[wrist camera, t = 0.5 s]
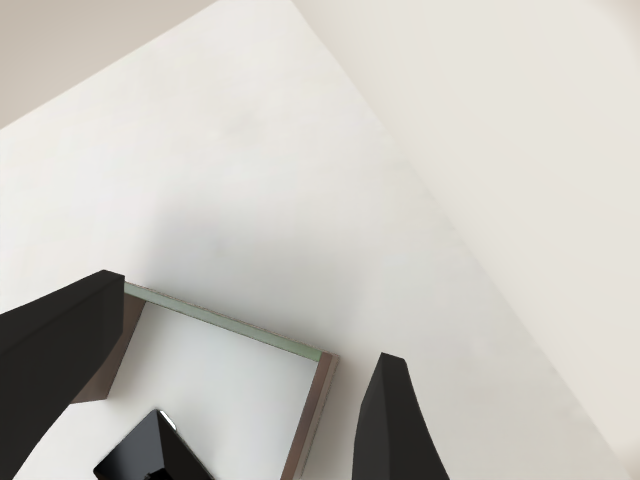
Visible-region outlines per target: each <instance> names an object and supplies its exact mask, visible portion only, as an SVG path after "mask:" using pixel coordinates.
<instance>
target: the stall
mask: <svg viewBox="0 0 640 480" xmlns="http://www.w3.org/2000/svg"><path fill="white" fill-rule="evenodd" d="M146 301H148V302H151V303H154V304H157V305H160V306H163V307H165V308H168V309H171V310H174V311H177V312H179V313H182V314H185V315H188V316H191V317H193V318H196V319H199V320H202V321H205V322H207V323H210V324H213V325H216V326H219V327H222V328H224V329H227V330H230V331H233V332H236V333H238V334H241V335H244V336H247V337H250V338H252V339H255V340H258V341H261V342H264V343H266V344H269V345H272V346H275V347H278V348H280V349H283V350H286V351H289V352H292V353H295V354H297V355H300V356H303V357H306V358H309V359H311V360H314V361H317V362H319V364H318V367H317V370H316V373H315V376H314V379H313V382H312V385H311V388H310V391H309V394H308V397H307V400H306V403H305V406H304V409H303V412H302V415H301V418H300V421H299V424H298V427H297V430H296V433H295V436H294V439H293V442H292V445H291V448H290V451H289V454H288V457H287V461H286V464H285V467H284V470H283V473H282V476H281V479H280V480H300V478H301V476H302V473H303V469H304V466H305V463H306V460H307V457H308V454H309V451H310V448H311V445H312V442H313V438H314V435H315V432H316V429H317V426H318V423H319V420H320V417H321V414H322V411H323V407H324V404H325V401H326V398H327V395H328V392H329V389H330V386H331V383H332V380H333V376H334V373H335V370H336V367H337V364H338V361H339V358H340V356H339V355H336V354H333V353H330V352H328V351H325V350H322V349H319V348H316V347H313V346H310V345H308V344H305V343H302V342H299V341H296V340H293V339H290V338H288V337H285V336H282V335H279V334H276V333H273V332H271V331H268V330H265V329H262V328H259V327H256V326H253V325H251V324H248V323H245V322H242V321H239V320H236V319H233V318H231V317H228V316H225V315H222V314H219V313H216V312H213V311H211V310H208V309H205V308H202V307H199V306H196V305H193V304H191V303H188V302H185V301H182V300H179V299H176V298H173V297H171V296H168V295H165V294H162V293H159V292H156V291H153V290H151V289H148V288H145V287H142V286H139V285H135V284H132V283H129V282H126V281H125V283H124V319H123V333H122V335H121V337H120V338H119V340H118V342H117V343H116V345H115V346H114V348H113V350H112V351H111V353H110V354H109V356H108V357H107V359H106V360H105V362H104V363H103V365H102V366H101V367H100V368H99V370H98V371H97V372H96V373H95V374H94V376H93V377H92V378H91V379H90V380H89V382H88V383H87V384H86V385H85V387H84V388H83V389H82V390H81V391H80V392H79V394H78V395H77V396H76V397H75V398H74V400H73V401H72V402H71V403H70V404H74V403H82V402H89V401H96V400H104V399H106V398H107V395H108V393H109V390H110V388H111V385H112V383H113V380H114V378H115V376H116V373H117V371H118V368H119V366H120V363H121V361H122V358H123V356H124V354H125V351H126V349H127V346H128V344H129V341H130V339H131V336H132V334H133V332H134V329H135V327H136V324H137V322H138V319H139V317H140V314H141V312H142V310H143V307H144V305H145V302H146Z"/></svg>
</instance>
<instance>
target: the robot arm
mask: <svg viewBox="0 0 640 480" xmlns="http://www.w3.org/2000/svg"><path fill="white" fill-rule="evenodd" d="M124 283H125V276H124V275H121V274H117V273H114V272H111V271H107V270H101V271H99V272H96V273H94V274H92V275H90V276H87V277H85V278H83V279H81V280H79V281H76V282H74V283H72V284H70V285H68V286H66V287H63V288H61V289H59V290H57V291H55V292H52V293H50V294H48V295H46V296H43V297H41V298H39V299H37V300H34V301H32V302H30V303H28V304H25V305H23V306H20V307H18V308H15V309H13V310H10V311H8V312H5V313H3V314H0V480H12V479H13V478H14V476H15V475H16V474H17V472H18V471H19V469H20V468H21V466H22V465H23V463H24V462H25V461H26V459H27V458H28V456H29V455H30V453H31V452H32V450H33V449H34V447H35V446H36V445H37V443H38V442H39V441H40V439H41V438H42V437H43V436H44V434H45V433H46V432H47V430H48V429H49V428H50V427H51V426H52V424H53V423H54V422H55V421H56V420H57V419H58V417H59V416H60V415H61V414H62V413H63V411H64V410H65V409H66V408H67V407H68V405H69V404H70V403H71V402H72V401H73V400H74V398H75V397H76V396H77V395H78V394H79V392H80V391H81V390H82V389H83V388H84V387H85V385H86V384H87V383H88V382H89V380H90V379H91V378H92V377H93V376H94V374H95V373H96V372H97V371H98V370H99V368H100V367H101V366H102V365H103V363H104V362H105V360H106V359H107V357H108V356H109V354H110V353H111V351H112V350H113V348H114V346H115V345H116V343H117V342H118V340H119V338H120V337H121V335H122V333H123V319H124ZM352 480H450V479H449V477H448V475H447V473H446V470H445V468H444V466H443V464H442V462H441V460H440V457H439V455H438V453H437V451H436V448H435V446H434V444H433V441H432V439H431V437H430V434H429V432H428V429H427V426H426V424H425V421H424V418H423V416H422V413H421V410H420V407H419V404H418V401H417V398H416V395H415V392H414V389H413V386H412V382H411V379H410V375H409V371H408V368H407V363H406V362H405V360H404V359H403V358H399V357H396V356H393V355H389V354H386V353H383V352H381V355H380V357H379V360H378V363H377V365H376V368H375V370H374V373H373V375H372V378H371V381H370V383H369V386H368V388H367V391H366V393H365V396H364V399H363V401H362V404H361V408H360V413H359V419H358V424H357V430H356V435H355V441H354V454H353V468H352Z"/></svg>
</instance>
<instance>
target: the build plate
mask: <svg viewBox="0 0 640 480" xmlns="http://www.w3.org/2000/svg"><path fill="white" fill-rule="evenodd" d="M93 473H94V474H95V476H96V477H97V478H98V480H214V479H213V477H212V476H211V475H210V474H209V472H208V471H207V470H206V469H205V467H204V466H203V465H202V464H201V462H200V461H199V460H198V459H197V458H196V456H195V455H194V454H193V453H192V451H191V450H190V449H189V448H188V446H187V445H186V444H185V443H184V442H183V440H182V439H181V438H180V437H179V435H178V434H177V433H176V428H175V425H174V424H173V423H172V421H171V420H170V419H169V418H168V416H167V415H166V414H165V413H164V412H162V411H159V410H157V409H154V410H152V411H151V412H150V413H149V414H148V415H147V416H146V417H145V418H144V419H143V420H142V421H141V422H140V423H139V424H138V425H137V426H136V427H135V428H134V429H133V430H132V431H131V432H130V433H129V434H128V435H127V436H126V437H125V438H124V439H123V440H122V441H121V442H120V443H119V444H118V445H117V446H116V447H115V448H114V449H113V450H112V451H111V452H110V453H109V454H108V455H107V456H106V457H105V458H104V459H103V460H102V461H101V462H100V463H99V464H98V465H97V466H96V467H95V468H94V470H93Z"/></svg>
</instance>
